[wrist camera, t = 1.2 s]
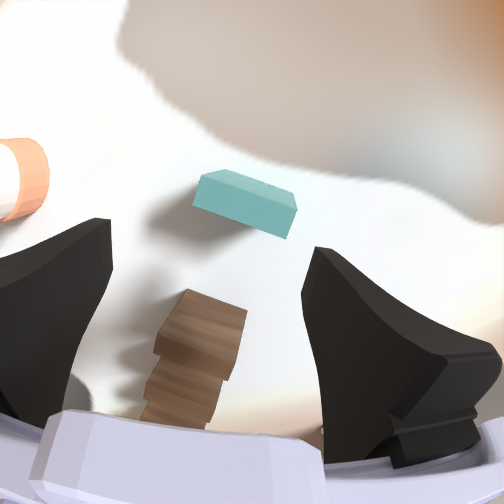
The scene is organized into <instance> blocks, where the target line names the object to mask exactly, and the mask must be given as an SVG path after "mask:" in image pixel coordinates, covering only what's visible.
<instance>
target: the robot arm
mask: <svg viewBox="0 0 504 504" xmlns="http://www.w3.org/2000/svg"><path fill="white" fill-rule="evenodd" d="M112 271H113V260H112V240H111V220H110V219H101V218H93V219H90V220H87V221H85V222H83V223H80V224H78V225H76V226H74V227H72V228H70V229H68V230H66V231H64V232H62V233H60V234H58V235H56V236H53V237H51V238H49V239H47V240H45V241H43V242H40V243H38V244H36V245H34V246H32V247H29V248H27V249H24V250H22V251H19V252H17V253H14V254H11V255H8V256H6V257H2V258H0V504H487V503H489V502H490V501H492V500H493V499H495V498H497V497H498V496H500V495H501V494H503V493H504V416H502V417H498V418H495V419H492V420H489V421H486V422H484V423H482V424H480V425H479V426H477V427H476V426H475V424H474V421H473V419H475V418H476V417H477V414H478V413H477V411H476V409H475V407H474V406H475V404H476V403H477V402H478V401H479V400H480V399H481V398H482V397H483V396H484V395H485V393H486V392H487V391H488V390H489V389H490V388H491V387H492V385H493V384H494V382H495V381H496V380H497V378H498V376H499V374H500V372H501V368H502V364H503V363H502V359H501V357H500V355H499V354H498V352H497V351H496V349H495V348H494V347H493V345H492V344H490V343H488V342H485V341H482V340H479V339H476V338H473V337H470V336H467V335H464V334H462V333H459V332H457V331H455V330H452V329H450V328H448V327H445V326H443V325H441V324H439V323H437V322H435V321H433V320H431V319H429V318H427V317H425V316H424V315H422V314H420V313H418V312H416V311H415V310H413V309H411V308H410V307H408V306H406V305H405V304H403V303H402V302H400V301H399V300H397V299H396V298H394V297H393V296H391V295H390V294H389V293H387V292H386V291H385V290H383V289H382V288H381V287H379V286H378V285H377V284H375V283H374V282H373V281H372V280H370V279H369V278H368V277H367V276H365V275H364V274H363V273H362V272H361V271H359V270H358V269H357V268H356V267H355V266H353V265H352V264H351V263H350V262H349V261H347V260H346V259H345V258H344V257H342V256H341V255H340V254H338V253H337V252H336V251H334V250H332V249H329V248H322V247H315V249H314V252H313V255H312V259H311V262H310V265H309V269H308V272H307V275H306V278H305V281H304V285H303V288H302V291H301V300H302V310H303V317H304V321H305V325H306V329H307V333H308V337H309V340H310V344H311V348H312V352H313V356H314V359H315V363H316V368H317V373H318V378H319V386H320V395H321V405H322V417H323V428H321V434H322V435H323V437H324V464H323V462H322V456H321V451H320V450H318V449H316V448H315V447H313V446H311V445H310V444H308V443H306V442H305V441H303V440H301V439H299V438H295V437H287V436H279V435H272V434H261V433H238V432H224V431H212V430H201V429H192V428H184V427H176V426H169V425H162V424H156V423H150V422H144V421H138V420H133V419H128V418H123V417H118V416H113V415H109V414H104V413H100V412H91V411H82V410H74V409H69V410H64V411H62V412H61V410H62V405H63V400H64V395H65V391H66V387H67V383H68V379H69V375H70V371H71V368H72V364H73V361H74V358H75V355H76V352H77V349H78V346H79V344H80V341H81V339H82V336H83V334H84V332H85V330H86V328H87V326H88V324H89V322H90V320H91V318H92V316H93V314H94V312H95V310H96V308H97V306H98V304H99V302H100V301H101V299H102V297H103V295H104V293H105V290H106V288H107V285H108V282H109V280H110V277H111V274H112Z"/></svg>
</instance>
